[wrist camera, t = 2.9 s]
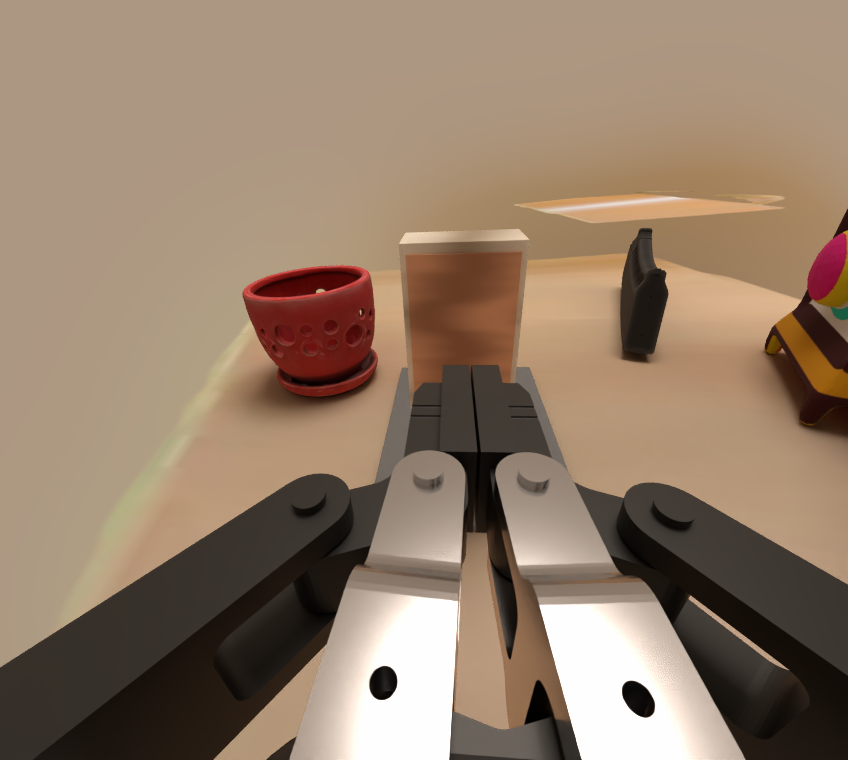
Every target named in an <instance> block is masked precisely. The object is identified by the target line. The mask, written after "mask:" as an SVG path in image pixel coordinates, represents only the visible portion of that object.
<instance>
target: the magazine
mask: <svg viewBox="0 0 848 760" xmlns="http://www.w3.org/2000/svg"><path fill="white" fill-rule="evenodd" d="M651 241H652V229H651V228H641V229H640V230H639V233H638V236H637V237H636V239H635V240H634V241H633V242H632V244H631V245H630V249H629V252H628V256H627V260H626V263H625V267H624V271H623V277H622V291H621V311H620V317H621V332H622V338H623V344H624V345H623V349H624V351H630V352H631V353H637V354H644V355H645V353H647V354H653V353H654V350H655V346H656V342H657V338H658V334H659V330H660V326H661V322H662V318H663V314H664V310H665V306H666V302H667V298H668V289H667V286H666V284H665V278H666V274H667V273H666V272H665V270H661V269H658V268H657V267H656V265H655V263H654V259H653V253H652V242H651Z"/></svg>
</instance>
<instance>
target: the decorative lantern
mask: <svg viewBox="0 0 848 760" xmlns="http://www.w3.org/2000/svg"><path fill="white" fill-rule="evenodd" d="M807 288H808V289H807V291H806V293H805V295H804V297H803V299H802V301H801V303H800V304H799V305H798V307H797V308H796V309H795V310H794V311H792V312H791V313H789V314H788V315H787V316H785V317H784V318H783V319H781V320H780V321H779V322H778V323H776V324H775V325H774V326H773V327H772V329H771V331H770V333H769V335H768V337H767V340H766V343H765V350H766V352H767V353H769V354H775V353H778V352H779V351H780V350H781V349H782V348H783V350H784V351H785V353H786V355H787V356H788V358H789V360H790V361H791V363H792V365H793V367H794V368H795V370H796V372H797V373H798V375H799V377H800V378H801V380H802V382H803V384H804V385H805V388H806V399H805V402H804V404H803V407H802V409H801V412H800V421H801V422H802V423H803V424H806V425H810V426H812V425H814V424H816V423H818V422H819V421H820V420H821V419H822V418H823V417H824V416H825V415H826V414H827V413H828V412H829V411H830V410H832V409H833V408H837V407H848V209H847V211H846V213H845V215H844V217H843V219H842V221H841V223H840V225H839V227H838V229H837V231H836V233H835V235H834V237H833V239H832V240H831V241H830V242H829V243H828V244H827V245H826V246H825V247H824V248H823V249H822V251H821V252H820V253H819V254H818V256H817V258H816V260H815V261H814V263H813V265H812V268H811V270H810V272H809V276H808V286H807Z"/></svg>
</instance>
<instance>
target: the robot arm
mask: <svg viewBox="0 0 848 760" xmlns="http://www.w3.org/2000/svg"><path fill="white" fill-rule="evenodd" d="M474 512H475V526H476V532H482V533H487V539H488V559H487V569H488V575H489V581H490V587H491V593H492V599H493V605H494V611H495V616H496V622H497V628H498V634H499V640H500V646H501V652H502V657H503V664H504V672H505V692H506V706H507V715H508V723H509V729H507V730H502V729H496V728H493V727H491V726H488V725H486V724H483V723H481V722H478V721H476V720H473V719H471V718H469V717H466V716H464V715H461V714H459V713H456V712H455V701H456V678H457V658H458V638H459V619H460V600H461V580H462V564H463V562H464V560H465V556H466V537H467V532H473V521H474ZM690 595H691V596H692V597H694V598H695V599H696V600H698V601H699V602H700V603H702V604H703V605H704V606H706V607H707V608H708V609H710V610H711V611H712V612H714V613H715V614H716V615H718V616H719V617H720V618H721V619H723V620H724V621H725V622H727V623H728V624H729V625H731V626H732V627H733V628H735V629H736V630H737V631H739V632H740V633H741V634H743V635H744V636H745V637H747V638H748V639H749V640H751V641H752V642H753V643H755V644H756V645H757V646H759V647H760V648H761V649H763V650H764V651H765V652H766V653H768V654H769V655H770V656H772V657H773V658H774V659H776V660H777V661H778V662H780V663H781V664H782V665H784V666H785V667H786V668H787V669H789V670H790V671H789V670H786V669H783V668H781V667H779V666H777V665H775V664H773V663H771V662H770V661H768V660H767V659H766V658H764V657H763V656H762V655H760V654H759V653H758V652H756V651H755V650H754V649H753V648H751V647H750V646H749V645H747V644H746V643H745V642H743V641H742V640H741V639H739V638H738V637H737V636H736V635H734V634H733V633H732V632H730V631H729V630H728V629H726V628H725V627H724V626H723V625H721V624H720V623H719V622H717V621H716V620H715V619H713V618H712V617H711V616H709V615H708V614H707V613H706V612H704V611H703V610H702V609H700V608H699V607H698V606H696V605H695V604H694V603H693V602H691V601H690V600H689V599H688V598H689V597H690ZM326 644H327V645H326ZM325 645H326V648H325V651H324V654H323V657H322V661H321V664H320V667H319V670H318V673H317V676H316V679H315V682H314V685H313V688H312V691H311V694H310V697H309V701H308V704H307V707H306V710H305V713H304V716H303V719H302V722H301V725H300V728H299V731H298V734H297V737H295V738H293V739H292V740H290V741H289V742H288V743H286V744H285V745H284V746H282V747H281V748H280V749H279V750H277V751H276V752H275V753H273V754H272V755H271V756H270V757H269V758H268V759H267V760H848V585H847V584H846V583H844V582H842V581H840V580H839V579H837V578H835V577H834V576H832V575H830V574H828V573H827V572H825V571H823V570H821V569H820V568H818V567H816V566H814V565H813V564H811V563H809V562H807V561H806V560H804V559H802V558H800V557H799V556H797V555H795V554H793V553H792V552H790V551H788V550H787V549H785V548H783V547H781V546H780V545H778V544H776V543H774V542H773V541H771V540H769V539H767V538H766V537H764V536H762V535H760V534H759V533H757V532H755V531H753V530H752V529H750V528H748V527H746V526H745V525H743V524H741V523H740V522H738V521H736V520H734V519H733V518H731V517H729V516H727V515H726V514H724V513H722V512H720V511H719V510H717V509H715V508H713V507H712V506H710V505H708V504H706V503H705V502H703V501H701V500H699V499H698V498H696V497H694V496H693V495H691V494H689V493H687V492H685V491H683V490H680V489H678V488H675V487H672V486H669V485H665V484H660V483H641V484H638V485H635V486H633V487H631V488H630V489H629V490H628V491H627V492H626V494H625V497H624V498H621V497H617V496H613V495H609V494H606V493H602V492H598V491H594V490H591V489H588V488H585V487H583V486H581V485H579V484H577V483H575V482H574V481H573V479H572V477H571V475H570V474H569V472H568V471H567V470H566V469H565V467H563V466H562V465H561V464H560V463H558V462H557V461H555V460H554V459H552V456H551V453H550V450H549V448H548V445H547V442H546V439H545V436H544V433H543V430H542V427H541V424H540V422H539V419H538V416H537V413H536V410H535V408H534V404H533V401H532V398H531V395H530V393H529V392H528V391H526V390H525V389H524V388H523V387H522V386H521V385H520V384H519V383H503V382H502V377H501V373H500V369H499V366H498V365H471V373H470V367H469V365H443V373H442V383H423V384H422V385H421V386H420V387H419V388H418V389H417V390H416V391H415V392H414V396H413V403H412V409H411V418H410V421H409V428H408V434H407V440H406V446H405V453H404V458H403V459H401V460H400V461H399V462H398V463H397V465H396V466H395V468H394V470H393V472H392V475H391V476H389V477H388V478H386V479H385V480H383V481H380V482H378V483H375V484H372V485H368V486H364V487H360V488H355V489H351V490H349V489H348V486H347V485H346V483H345V482H344V481H343V480H341V479H340V478H338V477H336V476H333V475H329V474H312V475H307V476H304V477H301V478H298V479H296V480H294V481H292V482H290V483H289V484H287V485H285V486H284V487H282V488H281V489H279V490H278V491H276V492H275V493H273V494H271V495H270V496H268V497H267V498H265V499H264V500H262V501H260V502H259V503H257V504H256V505H254V506H253V507H251V508H249V509H248V510H246V511H245V512H243V513H242V514H240V515H238V516H237V517H235V518H234V519H232V520H231V521H229V522H227V523H226V524H224V525H223V526H221V527H220V528H218V529H217V530H215V531H213V532H212V533H210V534H209V535H207V536H206V537H204V538H202V539H201V540H199V541H198V542H196V543H195V544H193V545H191V546H190V547H188V548H187V549H185V550H184V551H182V552H180V553H179V554H177V555H176V556H174V557H173V558H171V559H169V560H168V561H166V562H165V563H163V564H162V565H160V566H159V567H157V568H155V569H154V570H152V571H151V572H149V573H148V574H146V575H144V576H143V577H141V578H140V579H138V580H137V581H135V582H133V583H132V584H130V585H129V586H127V587H126V588H124V589H122V590H121V591H119V592H118V593H116V594H115V595H113V596H111V597H110V598H108V599H107V600H105V601H104V602H102V603H101V604H99V605H97V606H96V607H94V608H93V609H91V610H90V611H88V612H86V613H85V614H83V615H82V616H80V617H79V618H77V619H75V620H74V621H72V622H71V623H69V624H68V625H66V626H64V627H63V628H61V629H60V630H58V631H57V632H55V633H53V634H52V635H50V636H49V637H47V638H46V639H44V640H43V641H41V642H39V643H38V644H36V645H35V646H33V647H32V648H30V649H28V650H27V651H25V652H24V653H22V654H21V655H19V656H18V657H16V658H14V659H13V660H11V661H10V662H8V663H7V664H5V665H3V666H2V667H0V760H213V759H214V758H215V757H216V756H217V755H218V754H219V753H220V752H221V751H222V750H223V749H224V748H225V747H226V746H227V745H228V744H229V743H230V742H231V741H232V740H233V739H234V738H235V737H236V736H237V735H238V734H239V733H240V732H241V731H242V730H243V729H244V728H245V727H246V726H247V725H248V724H249V723H250V722H251V721H252V720H253V719H254V718H255V716H256V715H257V714H258V713H259V712H260V711H261V710H262V709H263V708H264V707H265V706H266V705H267V704H268V703H269V702H270V701H271V700H272V699H273V698H274V697H275V696H276V695H277V694H278V693H279V692H280V691H281V690H282V689H283V688H284V687H285V686H286V685H287V684H288V683H289V682H290V681H291V680H292V679H293V678H294V677H295V676H296V675H297V674H298V673H299V672H300V671H301V670H302V669H303V667H304V666H305V665H306V664H307V663H308V662H309V661H310V660H311V659H312V658H313V657H314V656H315V655H316V654H317V653H318V652H319V651H320V650H321V649H322V648H323V647H324V646H325Z"/></svg>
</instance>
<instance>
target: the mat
mask: <svg viewBox="0 0 848 760" xmlns="http://www.w3.org/2000/svg"><path fill="white" fill-rule="evenodd" d="M515 383H519V384H520V385H521V386H522V387H523V388H524V389H525V390H526V391H528V392H529V393H530V395H531V398H532V401H533V404H534V408H535V410H536V413H537V416H538V419H539V422H540V424H541V427H542V430H543V433H544V436H545V439H546V442H547V445H548V448H549V450H550V453H551V456H552V459H554V460H555V461H557V462H558V463H560V464H561V465H562V466H563V467H565V469H566V470H567V467H566V464H565V462H564V459H563V456H562V454H561V451H560V448H559V446H558V443H557V440H556V438H555V435H554V432H553V430H552V427H551V424H550V422H549V419H548V416H547V414H546V411H545V408H544V406H543V403H542V400H541V398H540V395H539V392H538V390H537V387H536V384H535V381H534V379H533V376H532V373H531V371H530V368H529V367H516V377H515ZM410 418H411V404H410V390H409V376H408V368H402V370H401V375H400V379H399V383H398V387H397V392H396V396H395V400H394V404H393V409H392V413H391V417H390V421H389V426H388V430H387V434H386V438H385V442H384V447H383V451H382V455H381V459H380V464H379V468H378V472H377V476H376V481H375V483H378V482H380V481H383V480H385V479H386V478H388V477H389V476H391V475H392V472H393V470H394V468H395V466H396V465H397V463H398V462H399V461H400V460H401V459H403V458H404V453H405V446H406V440H407V434H408V428H409V421H410ZM567 471H568V470H567ZM473 531H476V526H475V512H474V521H473Z"/></svg>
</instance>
